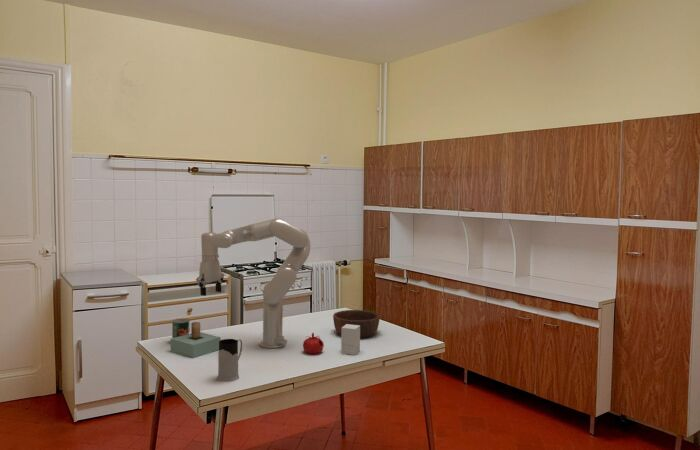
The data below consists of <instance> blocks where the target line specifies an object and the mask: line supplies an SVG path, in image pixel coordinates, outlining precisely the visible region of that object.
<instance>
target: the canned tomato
mask: <svg viewBox="0 0 700 450" xmlns="http://www.w3.org/2000/svg"><path fill="white" fill-rule="evenodd" d="M171 324H172V328H171V332H172V334H171V335H172V338H175V337H179V336H183V335H187V334H190V319H189V318H177V319H173V320H172V323H171Z"/></svg>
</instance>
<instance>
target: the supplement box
mask: <svg viewBox="0 0 700 450" xmlns="http://www.w3.org/2000/svg"><path fill="white" fill-rule="evenodd" d="M340 337H341V341H340V342H341V343H340V344H341V345H340V346H341V347H340V349H341V350H340V351H341V353H340V354H343V355H351V356H356V355H357V354H358V353H360V351H361V338H360V325H350V324H346V325H344V326H343V327H342V328H341V336H340Z"/></svg>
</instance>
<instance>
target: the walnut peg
mask: <svg viewBox="0 0 700 450" xmlns="http://www.w3.org/2000/svg"><path fill="white" fill-rule="evenodd" d="M190 324H191V330H190V331H191V332H190V333H191V339H192V340H198V339H200V332H201V322H199V321H194V322H191V323H190Z"/></svg>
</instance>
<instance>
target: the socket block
mask: <svg viewBox="0 0 700 450" xmlns="http://www.w3.org/2000/svg"><path fill="white" fill-rule="evenodd" d="M220 340H221V336H217V335H213V334H209V333H205V332H201V331H200V339H198V340H192V339H191V332H189V334H187V335H183V336H179V337H175V338H170V352H172V353H175V354H178V355H182V356H186V357H188V358H192V359H195V358H198V357H202V356H205V355H209V354H211V353H214V352H217V351H218V352H219V341H220Z"/></svg>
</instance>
